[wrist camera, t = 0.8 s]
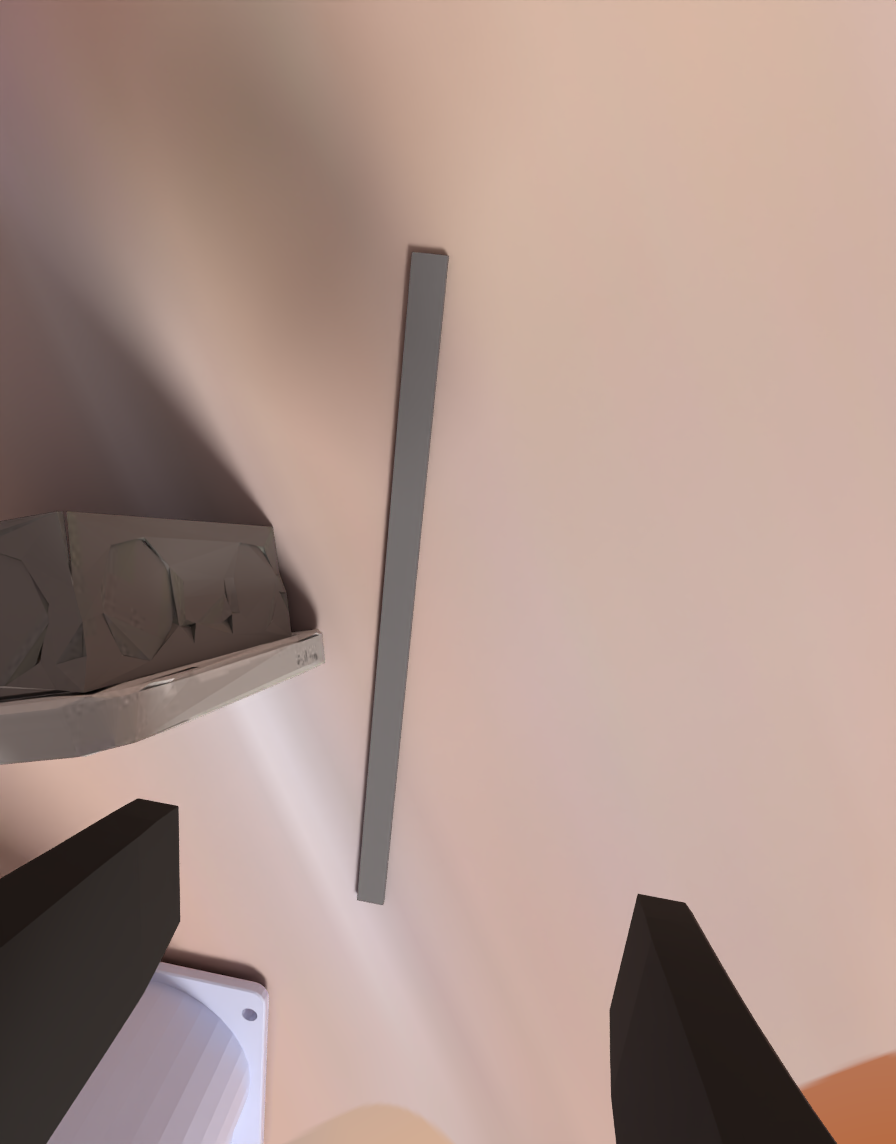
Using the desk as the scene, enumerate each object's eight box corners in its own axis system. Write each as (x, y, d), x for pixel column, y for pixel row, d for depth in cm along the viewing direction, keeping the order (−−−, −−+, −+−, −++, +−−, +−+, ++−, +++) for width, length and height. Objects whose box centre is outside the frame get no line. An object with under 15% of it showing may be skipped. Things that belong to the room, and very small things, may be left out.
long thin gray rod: (384, 901, 22) (382, 905, 22) (358, 896, 22) (357, 899, 22) (448, 256, 16) (447, 255, 16) (413, 252, 16) (411, 251, 16)
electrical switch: (40, 691, 21) (-341, 894, 12) (-11, 519, 20) (-463, 604, 11) (339, 655, 20) (148, 860, 11) (299, 465, 19) (52, 515, 10)
